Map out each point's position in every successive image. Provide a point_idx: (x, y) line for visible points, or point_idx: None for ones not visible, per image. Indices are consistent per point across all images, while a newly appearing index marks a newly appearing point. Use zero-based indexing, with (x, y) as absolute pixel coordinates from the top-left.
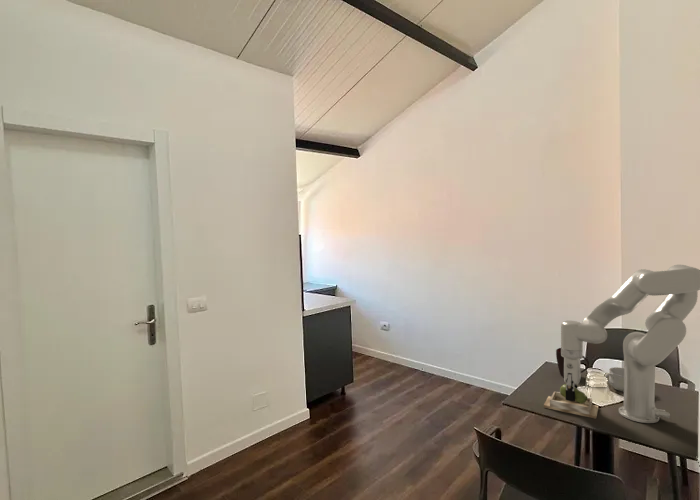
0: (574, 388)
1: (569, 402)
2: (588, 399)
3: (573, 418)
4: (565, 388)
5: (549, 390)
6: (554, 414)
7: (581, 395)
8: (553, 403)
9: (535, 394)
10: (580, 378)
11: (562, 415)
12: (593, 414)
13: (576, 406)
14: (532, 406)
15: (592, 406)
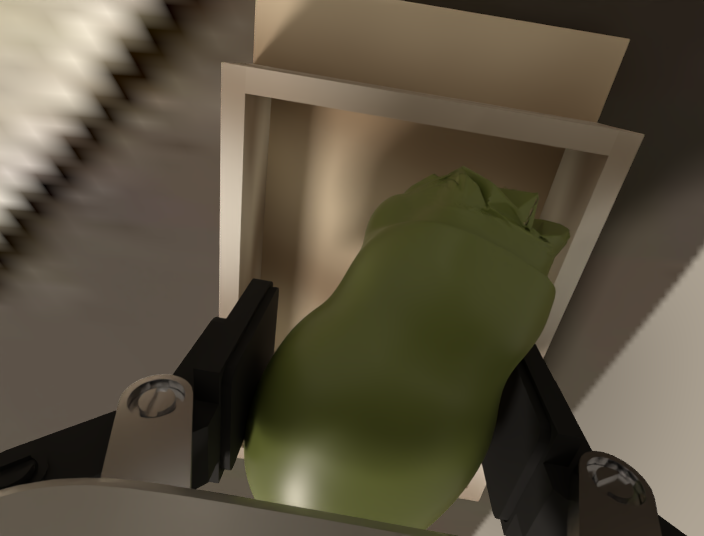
0: (423, 433)
1: (305, 300)
2: (248, 117)
3: (641, 277)
4: (431, 523)
5: (63, 405)
6: (576, 407)
7: (553, 295)
8: None
9: (213, 487)
10: (119, 493)
11: (585, 356)
12: (583, 71)
13: (569, 286)
14: (456, 515)
15: (309, 62)
